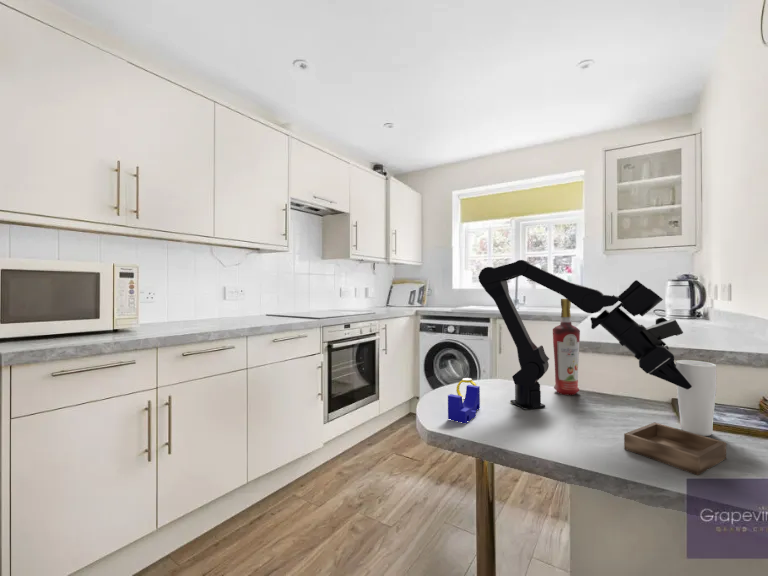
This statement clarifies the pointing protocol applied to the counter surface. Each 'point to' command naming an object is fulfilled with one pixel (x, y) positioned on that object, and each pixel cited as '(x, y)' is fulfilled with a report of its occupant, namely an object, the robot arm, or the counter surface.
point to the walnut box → (676, 447)
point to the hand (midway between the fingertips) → (686, 383)
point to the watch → (466, 380)
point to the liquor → (566, 352)
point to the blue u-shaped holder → (464, 405)
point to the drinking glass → (697, 396)
